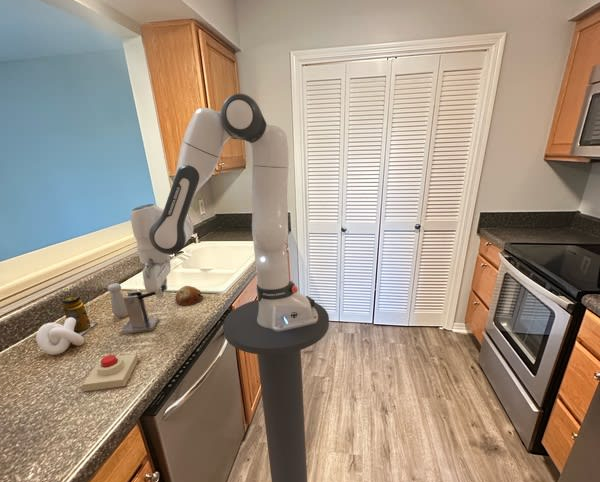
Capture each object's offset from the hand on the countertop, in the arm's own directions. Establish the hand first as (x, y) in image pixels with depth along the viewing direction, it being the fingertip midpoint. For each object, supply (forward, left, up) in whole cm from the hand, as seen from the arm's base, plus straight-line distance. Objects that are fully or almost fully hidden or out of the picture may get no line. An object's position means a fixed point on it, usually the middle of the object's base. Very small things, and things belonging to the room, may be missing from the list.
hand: (162, 293), depth 112 cm
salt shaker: (+20, -11, -12) cm, 26 cm away
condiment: (+32, -3, -12) cm, 34 cm away
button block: (+10, +27, -12) cm, 31 cm away
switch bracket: (+10, 0, -12) cm, 15 cm away
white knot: (+30, +9, -12) cm, 33 cm away
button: (+10, +27, -8) cm, 30 cm away
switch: (+5, 0, -1) cm, 5 cm away
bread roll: (-4, -19, -12) cm, 23 cm away
